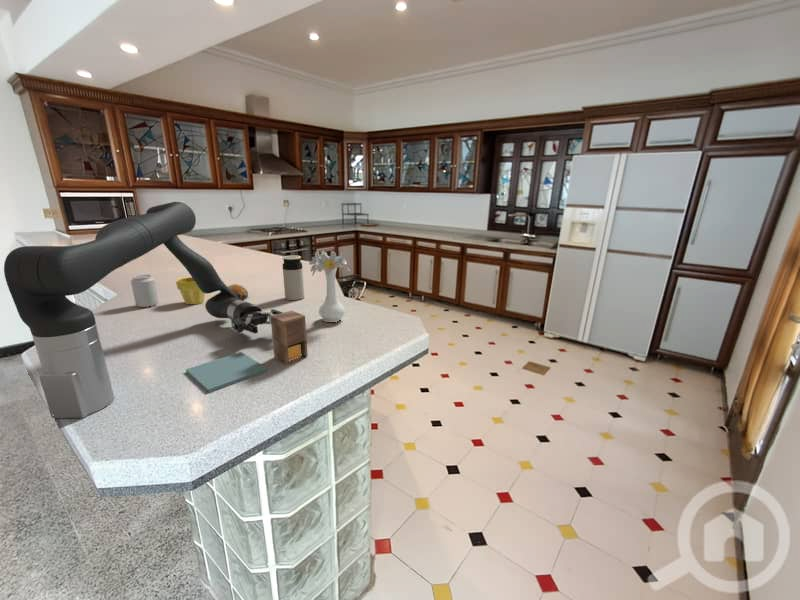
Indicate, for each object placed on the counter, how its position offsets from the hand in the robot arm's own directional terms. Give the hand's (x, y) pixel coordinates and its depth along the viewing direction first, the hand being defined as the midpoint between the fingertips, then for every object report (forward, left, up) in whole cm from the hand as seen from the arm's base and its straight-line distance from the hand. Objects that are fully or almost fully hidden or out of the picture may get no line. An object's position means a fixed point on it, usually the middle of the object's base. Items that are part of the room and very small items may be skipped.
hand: (270, 326), depth 101 cm
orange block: (-7, -7, -7) cm, 12 cm away
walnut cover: (-7, -7, -7) cm, 12 cm away
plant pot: (+45, +44, -7) cm, 63 cm away
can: (+41, +60, -7) cm, 73 cm away
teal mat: (-15, +7, -7) cm, 18 cm away
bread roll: (+51, +30, -7) cm, 59 cm away
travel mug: (+51, +5, -7) cm, 52 cm away
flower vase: (+23, -14, -7) cm, 28 cm away
